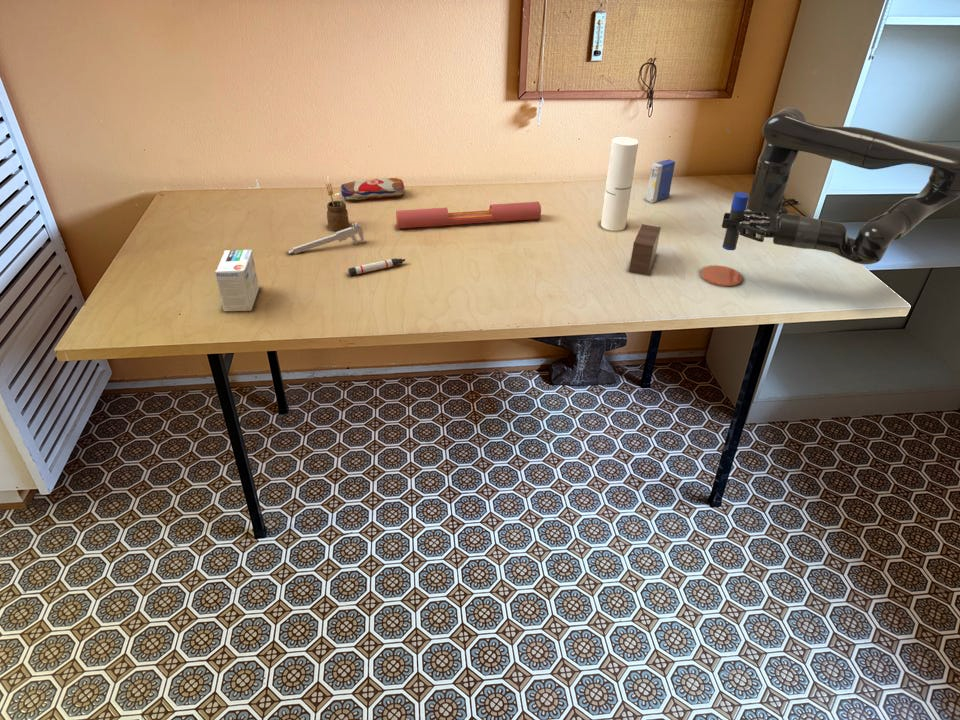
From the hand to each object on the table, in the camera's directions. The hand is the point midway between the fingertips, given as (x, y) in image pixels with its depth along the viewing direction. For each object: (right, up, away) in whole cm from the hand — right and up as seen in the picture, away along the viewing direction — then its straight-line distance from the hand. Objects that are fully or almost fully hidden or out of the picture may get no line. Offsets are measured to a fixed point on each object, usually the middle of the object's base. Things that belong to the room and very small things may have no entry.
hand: (723, 219), depth 174 cm
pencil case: (-94, +16, +46) cm, 105 cm away
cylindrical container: (-21, +5, +32) cm, 39 cm away
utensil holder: (-101, +3, +28) cm, 105 cm away
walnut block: (-17, -9, +14) cm, 23 cm away
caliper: (-102, -4, +17) cm, 103 cm away
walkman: (-4, +16, +49) cm, 52 cm away
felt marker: (+3, -1, -1) cm, 3 cm away
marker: (-87, -11, +8) cm, 88 cm away
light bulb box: (-117, -20, -5) cm, 119 cm away
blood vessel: (-63, +5, +32) cm, 71 cm away
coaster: (+2, -13, +8) cm, 16 cm away
